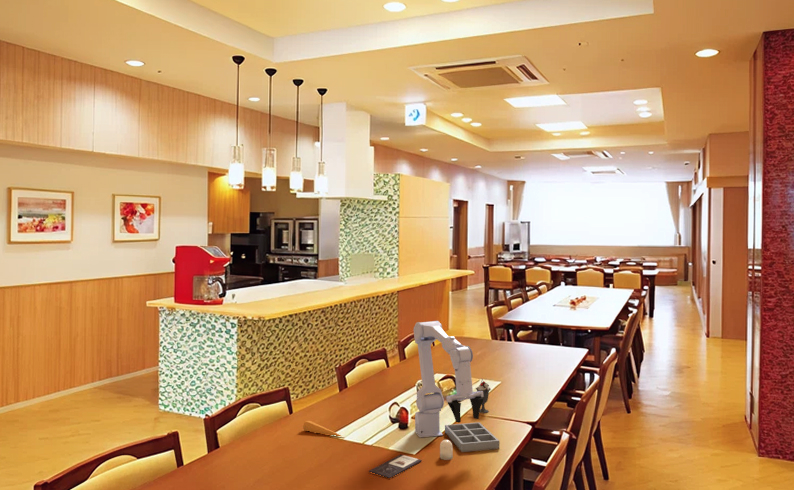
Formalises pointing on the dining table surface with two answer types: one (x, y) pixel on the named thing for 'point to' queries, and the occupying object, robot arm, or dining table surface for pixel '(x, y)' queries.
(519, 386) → the dining table surface
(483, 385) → the sundae
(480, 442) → the grey compartment tray
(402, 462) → the chocolate bar
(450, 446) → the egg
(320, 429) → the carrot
